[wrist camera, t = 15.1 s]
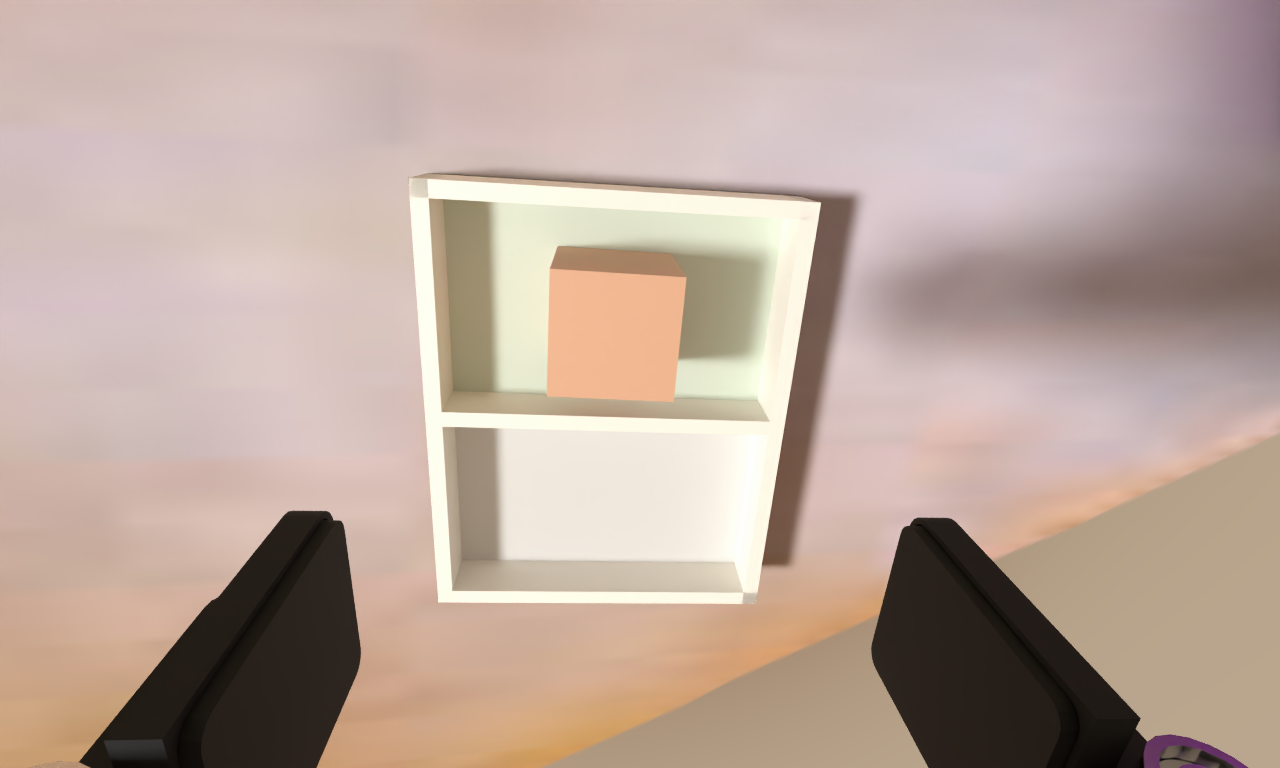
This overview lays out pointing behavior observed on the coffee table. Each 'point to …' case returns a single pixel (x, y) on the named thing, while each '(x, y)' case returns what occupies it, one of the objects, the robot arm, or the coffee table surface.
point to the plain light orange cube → (614, 324)
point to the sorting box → (603, 428)
